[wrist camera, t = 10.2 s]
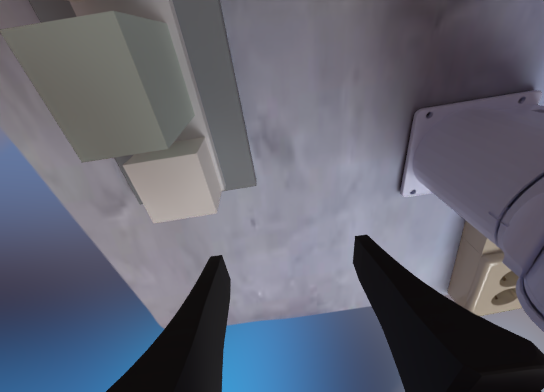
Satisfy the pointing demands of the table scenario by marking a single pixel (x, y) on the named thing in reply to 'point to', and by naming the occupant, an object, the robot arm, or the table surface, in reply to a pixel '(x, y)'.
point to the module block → (106, 81)
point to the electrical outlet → (482, 276)
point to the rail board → (205, 101)
